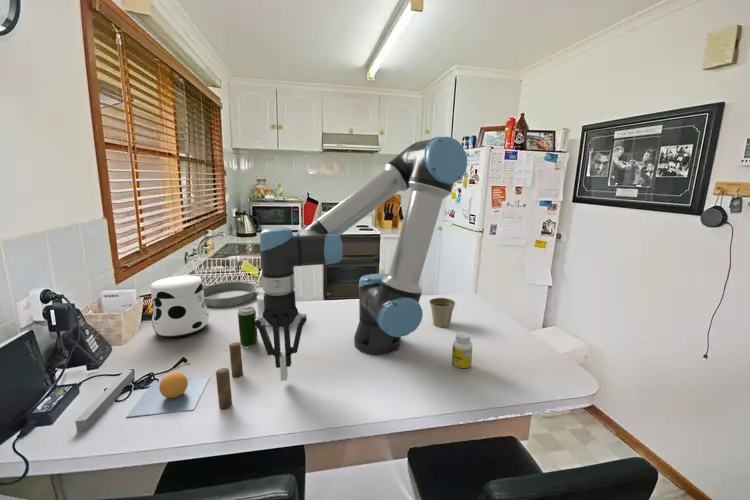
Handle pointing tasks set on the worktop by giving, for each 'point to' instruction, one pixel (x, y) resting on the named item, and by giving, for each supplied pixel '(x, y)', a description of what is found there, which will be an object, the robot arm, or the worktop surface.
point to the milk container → (178, 306)
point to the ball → (173, 385)
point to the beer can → (247, 326)
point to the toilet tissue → (261, 306)
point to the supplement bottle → (462, 352)
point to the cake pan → (216, 289)
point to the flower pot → (442, 311)
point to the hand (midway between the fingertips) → (284, 377)
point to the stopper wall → (104, 401)
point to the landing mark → (169, 399)
